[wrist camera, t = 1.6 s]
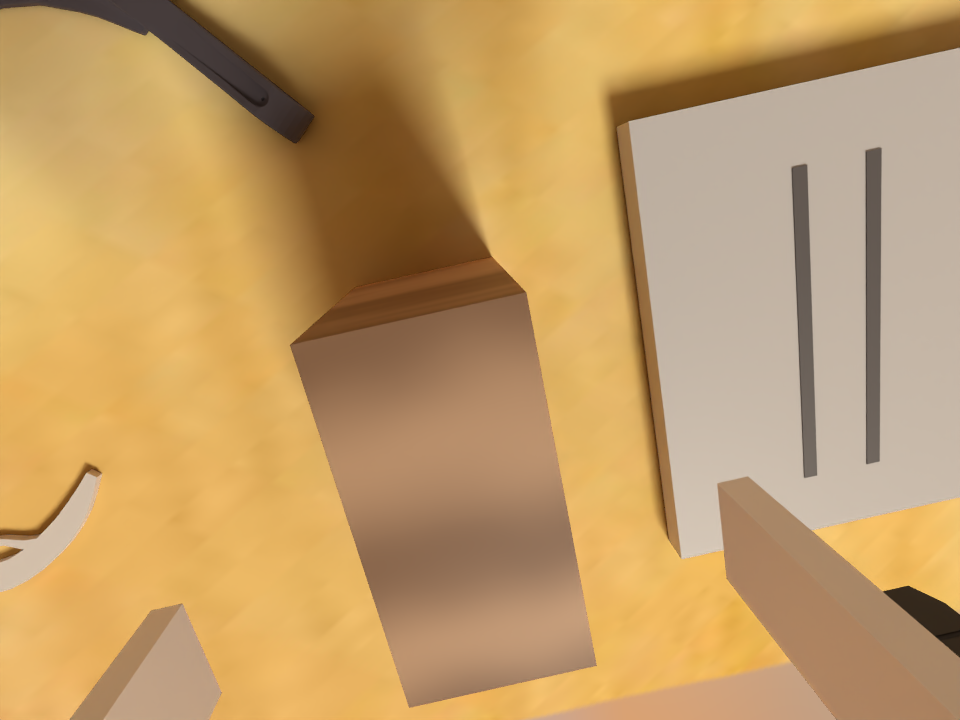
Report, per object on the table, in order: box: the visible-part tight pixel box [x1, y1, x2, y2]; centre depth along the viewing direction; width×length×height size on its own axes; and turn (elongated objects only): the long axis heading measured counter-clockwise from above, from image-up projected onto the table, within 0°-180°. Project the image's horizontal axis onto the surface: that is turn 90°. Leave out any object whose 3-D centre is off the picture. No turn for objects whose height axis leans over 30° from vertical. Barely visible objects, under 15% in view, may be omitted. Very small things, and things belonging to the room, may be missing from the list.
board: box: [616, 48, 960, 559], centre depth 24 cm, size 20×16×2 cm
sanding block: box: [290, 257, 597, 708], centre depth 20 cm, size 12×6×10 cm, turn 12°
